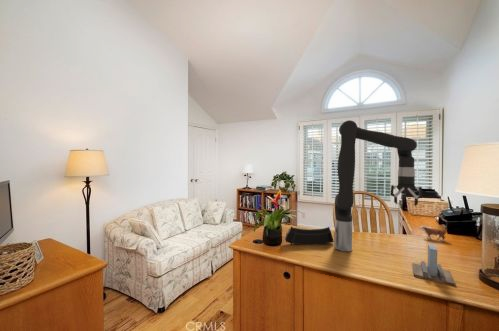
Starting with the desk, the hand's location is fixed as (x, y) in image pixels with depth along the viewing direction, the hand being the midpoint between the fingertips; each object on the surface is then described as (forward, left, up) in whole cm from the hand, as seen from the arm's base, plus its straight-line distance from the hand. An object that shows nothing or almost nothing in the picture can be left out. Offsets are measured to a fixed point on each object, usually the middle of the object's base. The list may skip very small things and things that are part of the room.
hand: (405, 204), depth 121 cm
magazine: (-49, -14, -28) cm, 59 cm away
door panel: (+10, -18, -27) cm, 34 cm away
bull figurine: (+16, +40, -28) cm, 52 cm away
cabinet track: (+10, -18, -28) cm, 35 cm away
